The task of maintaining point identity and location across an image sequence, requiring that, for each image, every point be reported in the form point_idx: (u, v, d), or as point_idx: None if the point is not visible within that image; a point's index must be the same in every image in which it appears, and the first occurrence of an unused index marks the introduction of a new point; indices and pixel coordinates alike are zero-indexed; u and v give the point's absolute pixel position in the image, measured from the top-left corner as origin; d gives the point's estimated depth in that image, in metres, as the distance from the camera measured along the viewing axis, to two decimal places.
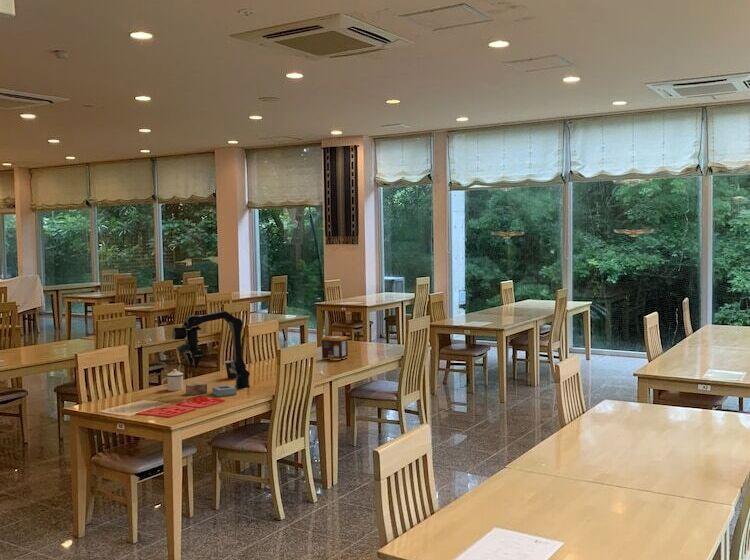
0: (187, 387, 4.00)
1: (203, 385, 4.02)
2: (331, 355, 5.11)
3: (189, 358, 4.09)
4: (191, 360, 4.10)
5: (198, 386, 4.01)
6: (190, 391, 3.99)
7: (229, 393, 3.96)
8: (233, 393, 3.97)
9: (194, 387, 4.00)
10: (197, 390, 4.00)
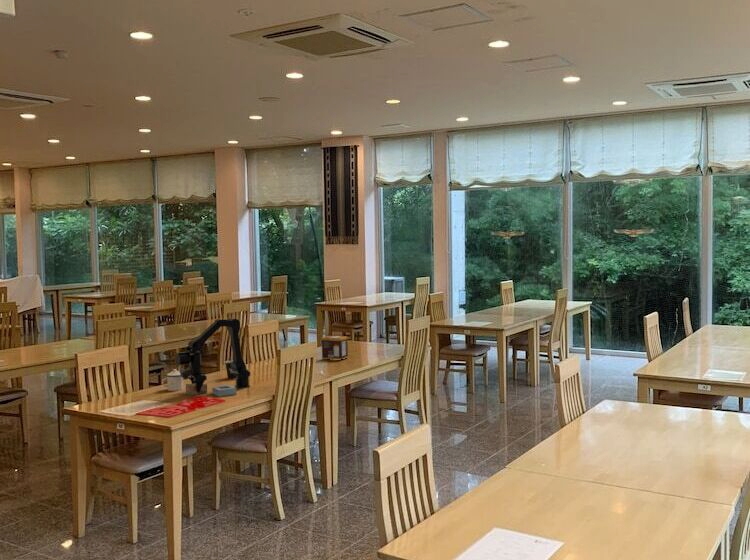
0: (187, 387, 4.00)
1: (203, 385, 4.02)
2: (331, 355, 5.11)
3: None
4: None
5: None
6: (190, 391, 3.99)
7: (229, 393, 3.96)
8: (233, 393, 3.97)
9: (194, 387, 4.00)
10: None
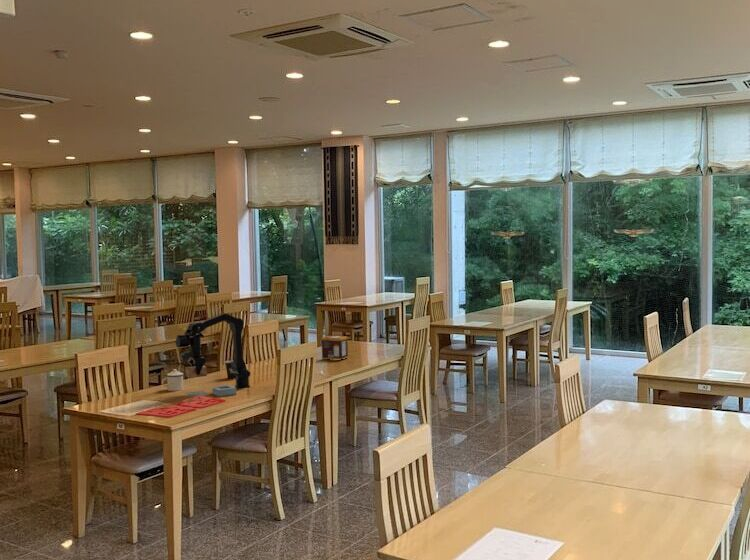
0: (187, 370, 4.00)
1: (203, 368, 4.02)
2: (331, 355, 5.11)
3: None
4: None
5: None
6: (190, 374, 3.98)
7: (229, 393, 3.96)
8: (233, 393, 3.97)
9: (194, 370, 3.99)
10: None
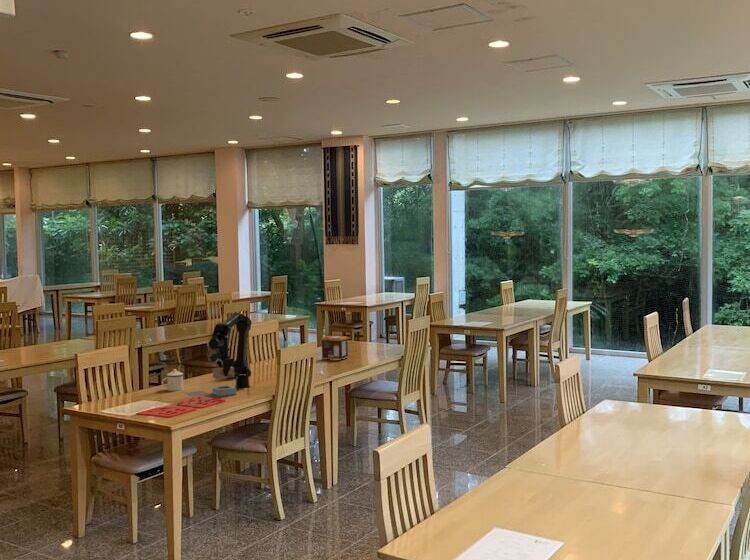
0: (214, 371, 3.97)
1: (230, 369, 3.98)
2: (331, 355, 5.11)
3: None
4: None
5: None
6: (217, 375, 3.95)
7: (229, 393, 3.96)
8: (233, 393, 3.97)
9: (221, 371, 3.96)
10: None
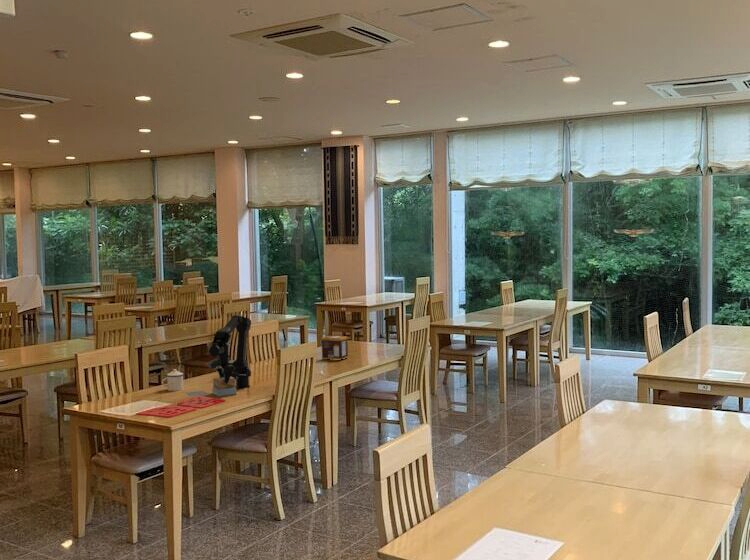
0: (215, 381, 3.97)
1: (231, 379, 3.99)
2: (331, 355, 5.11)
3: (220, 374, 4.03)
4: (222, 376, 4.03)
5: None
6: (218, 385, 3.95)
7: (229, 393, 3.96)
8: (233, 393, 3.97)
9: (222, 381, 3.96)
10: (225, 384, 3.97)
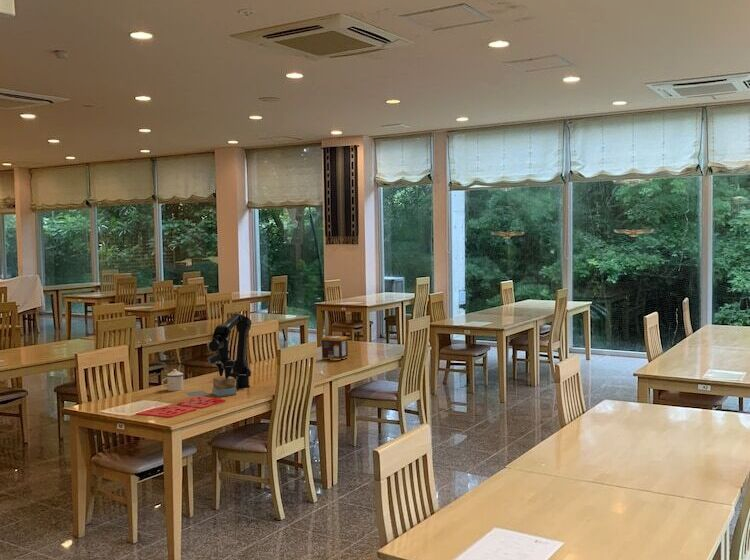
0: (215, 381, 3.97)
1: (231, 379, 3.99)
2: (331, 355, 5.11)
3: (219, 369, 4.03)
4: (221, 371, 4.03)
5: (226, 380, 3.97)
6: (218, 385, 3.95)
7: (229, 393, 3.96)
8: (233, 393, 3.97)
9: (222, 381, 3.96)
10: (225, 384, 3.97)
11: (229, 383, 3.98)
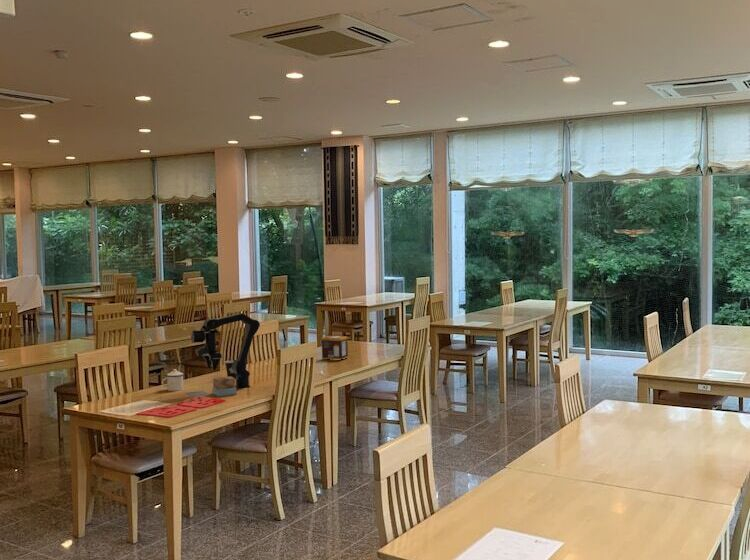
0: (215, 381, 3.97)
1: (231, 379, 3.99)
2: (331, 355, 5.11)
3: (207, 361, 4.15)
4: (209, 363, 4.15)
5: (226, 380, 3.97)
6: (218, 385, 3.95)
7: (229, 393, 3.96)
8: (233, 393, 3.97)
9: (222, 381, 3.96)
10: (225, 384, 3.97)
11: (229, 383, 3.98)
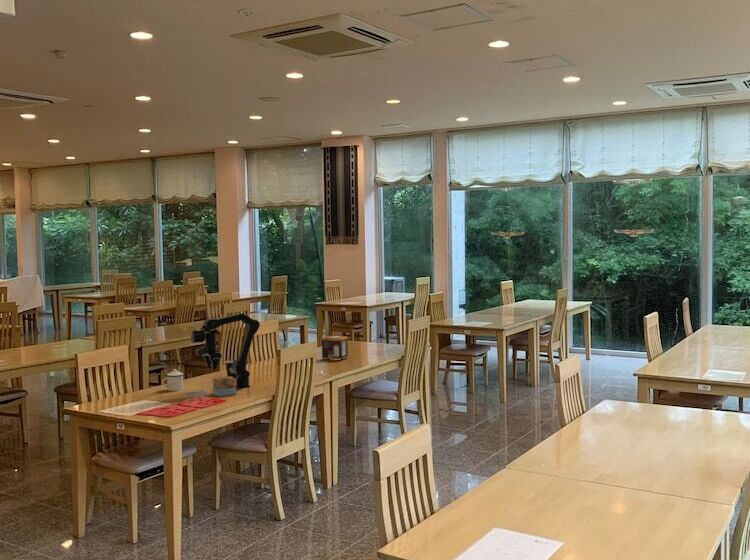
0: (215, 381, 3.97)
1: (231, 379, 3.99)
2: (331, 355, 5.11)
3: (207, 361, 4.15)
4: (209, 363, 4.15)
5: (226, 380, 3.97)
6: (218, 385, 3.95)
7: (229, 393, 3.96)
8: (233, 393, 3.97)
9: (222, 381, 3.96)
10: (225, 384, 3.97)
11: (229, 383, 3.98)
